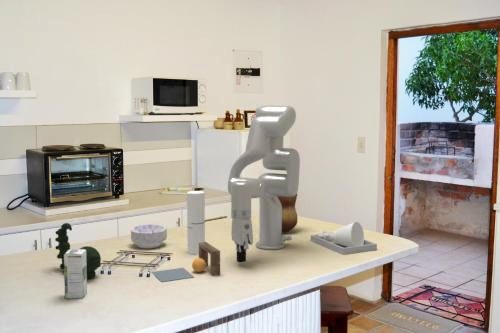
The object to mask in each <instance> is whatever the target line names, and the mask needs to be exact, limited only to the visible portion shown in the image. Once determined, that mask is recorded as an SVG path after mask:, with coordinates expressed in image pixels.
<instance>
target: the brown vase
mask: <svg viewBox="0 0 500 333" xmlns="http://www.w3.org/2000/svg"><path fill="white" fill-rule="evenodd" d="M277 197H278V199H279V201H280V202H281V205H282V233H287V232H289V231H291V230H293V229H295V227H296V226H297V225H298V213H297V208H296V203H297V199H298V198H297V197H298V193H297V194H296V195H295V196H293V197H285V196H277Z"/></svg>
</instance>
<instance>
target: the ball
mask: <svg viewBox="0 0 500 333" xmlns="http://www.w3.org/2000/svg"><path fill="white" fill-rule="evenodd" d="M191 264H192V265H191V267H192V269H193V271H194V272H196V273H202V272H203V271H205V270H206V268H207V266H206V263H205V261H204V260H203V259H201V258H199V257H197V258H196V259H194V260H193V261H192V263H191Z"/></svg>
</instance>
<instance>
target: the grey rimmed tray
mask: <svg viewBox="0 0 500 333" xmlns="http://www.w3.org/2000/svg"><path fill="white" fill-rule="evenodd" d="M330 233H331V234H332V233H333V232H330ZM321 234H322V233H318V234H311V235H310V240H309V241H310V242H313V243H314V244H317V245H320V246H322V247H324V248H327V249H330V250H332V251H333V252H336V253H339V254H340V255H342V256H343V255H350V254H356V253H363V252H371V251H377V250H378V243H375V242H372V241H369V240H367V239H364V244H363V245H361V246H353V247H346V246H345V247H343V246H342V245H341V246H340V245H338V244H336V243H334V242H328V241H326V240H324V237H318V235H321ZM328 234H329V232H328Z"/></svg>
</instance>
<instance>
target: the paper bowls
mask: <svg viewBox="0 0 500 333" xmlns="http://www.w3.org/2000/svg"><path fill="white" fill-rule="evenodd" d="M167 229H168V228H167V226H165V225H162V224H156V223H155V224H153V223H152V224H151V223H150V224H140V225H136V226H133V227H131V229H130V240H131V242H132V243H135V245H136V246H137V247H138V248H141V249H149V250H150V249H155V248H158V247H160V246H162V244H163V242H165V241H166V240H167V237H168V232H167V231H168V230H167Z"/></svg>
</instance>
